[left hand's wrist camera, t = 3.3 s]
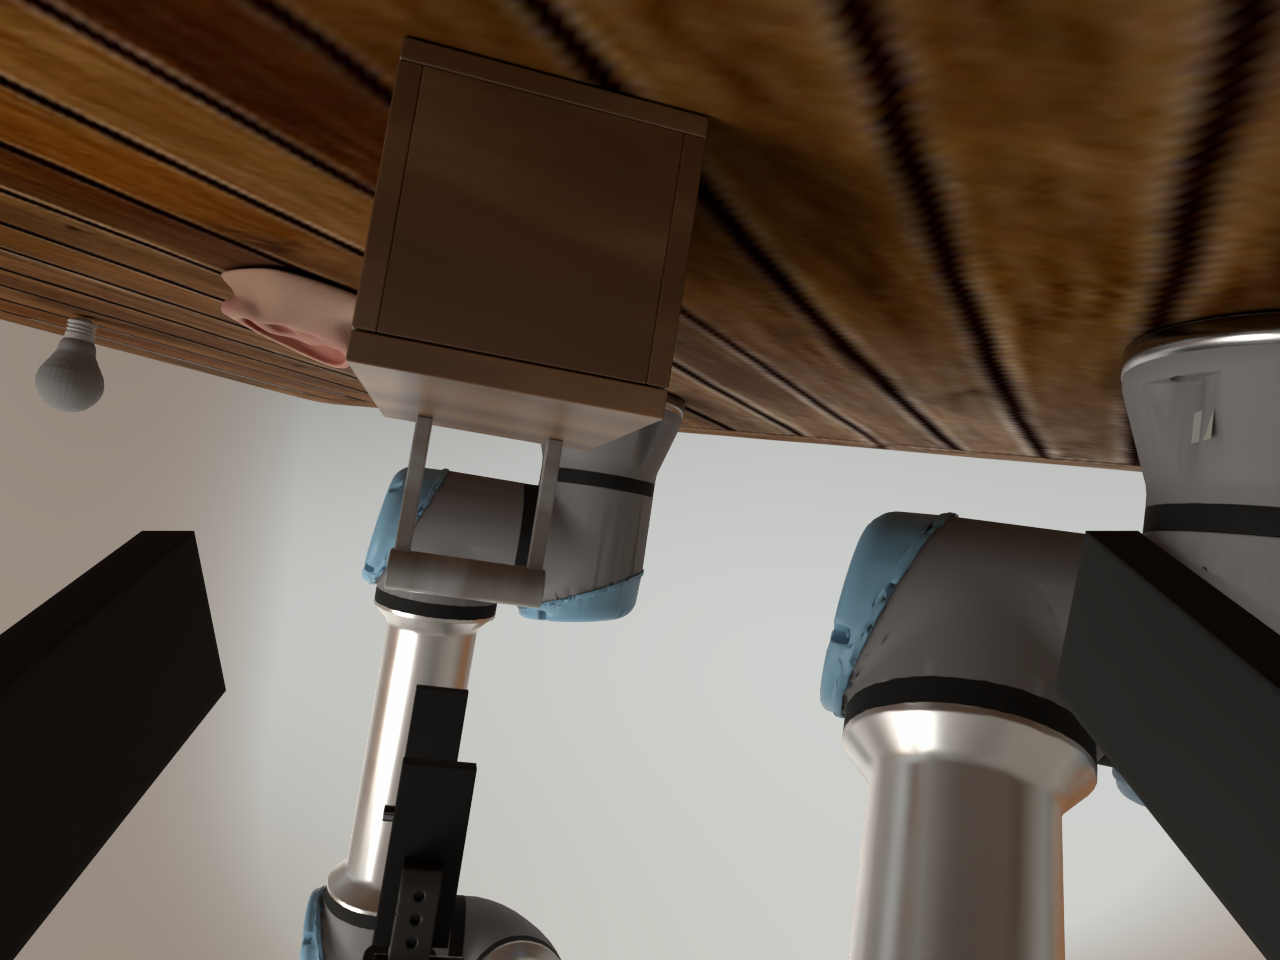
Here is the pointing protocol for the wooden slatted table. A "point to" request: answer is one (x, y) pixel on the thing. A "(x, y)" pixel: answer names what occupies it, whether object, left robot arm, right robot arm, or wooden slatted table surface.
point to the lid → (495, 405)
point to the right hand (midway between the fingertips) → (441, 718)
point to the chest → (530, 218)
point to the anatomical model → (293, 311)
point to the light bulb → (72, 370)
